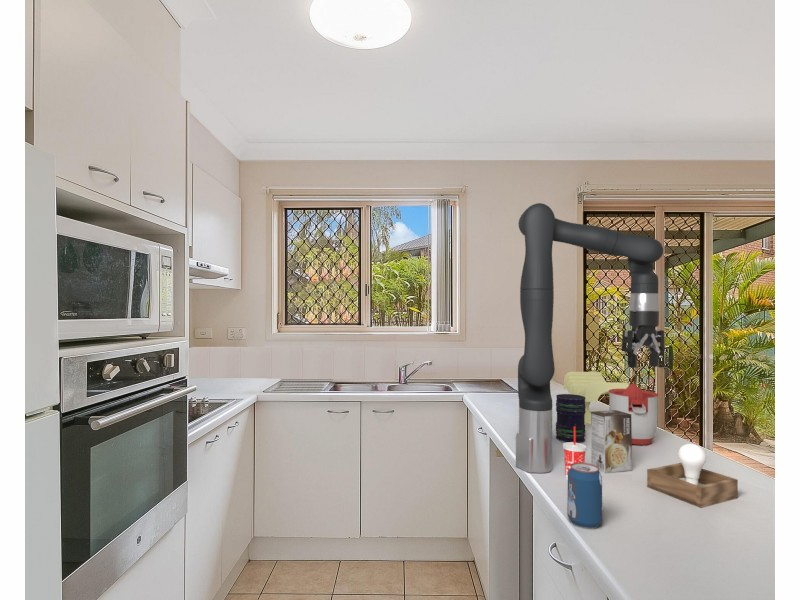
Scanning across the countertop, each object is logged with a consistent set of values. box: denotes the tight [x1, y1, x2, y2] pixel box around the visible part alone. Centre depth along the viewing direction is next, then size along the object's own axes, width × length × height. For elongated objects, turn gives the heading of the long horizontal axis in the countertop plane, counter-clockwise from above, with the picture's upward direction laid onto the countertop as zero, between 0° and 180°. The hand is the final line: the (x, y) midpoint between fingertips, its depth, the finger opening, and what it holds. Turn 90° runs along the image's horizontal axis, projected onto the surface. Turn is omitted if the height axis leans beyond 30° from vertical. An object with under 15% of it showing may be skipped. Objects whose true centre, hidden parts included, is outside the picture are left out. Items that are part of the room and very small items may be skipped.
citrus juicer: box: [608, 383, 659, 446], centre depth 166 cm, size 16×17×20 cm
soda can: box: [566, 462, 603, 530], centre depth 103 cm, size 7×7×12 cm
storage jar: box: [555, 393, 586, 444], centre depth 168 cm, size 10×10×15 cm
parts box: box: [646, 462, 739, 508], centre depth 121 cm, size 14×14×4 cm
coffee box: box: [590, 410, 633, 474], centre depth 138 cm, size 9×6×16 cm
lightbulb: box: [677, 443, 707, 486], centre depth 121 cm, size 6×6×11 cm
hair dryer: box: [563, 371, 630, 425], centre depth 198 cm, size 30×16×18 cm, turn 176°
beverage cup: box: [562, 427, 587, 481], centre depth 129 cm, size 6×6×14 cm
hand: (643, 366), depth 135 cm, fingers open, 8 cm apart
